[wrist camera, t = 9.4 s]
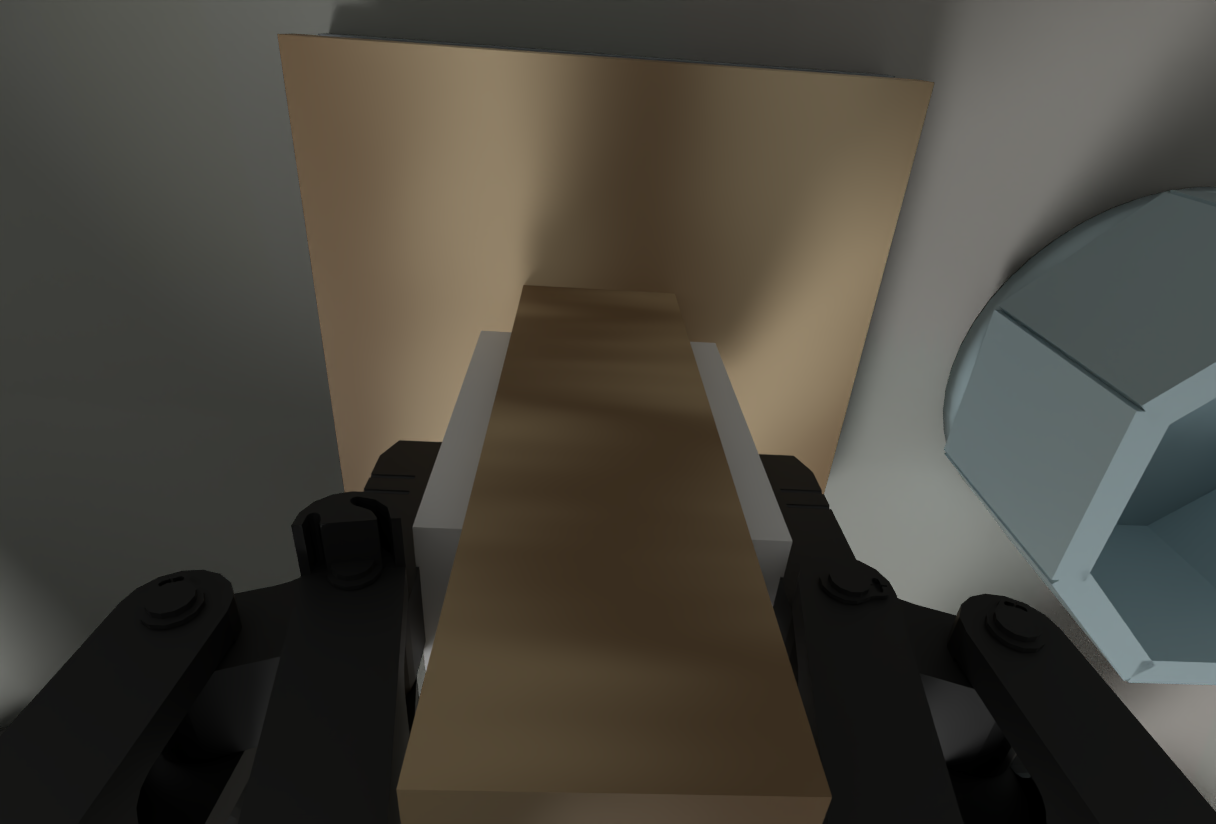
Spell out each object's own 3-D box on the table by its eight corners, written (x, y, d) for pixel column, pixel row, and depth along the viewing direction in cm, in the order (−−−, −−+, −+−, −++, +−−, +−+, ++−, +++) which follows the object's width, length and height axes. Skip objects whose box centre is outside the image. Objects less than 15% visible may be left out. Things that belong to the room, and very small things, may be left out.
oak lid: (361, 536, 20) (85, 1157, 9) (292, 33, 14) (-853, 80, 3) (796, 552, 21) (1028, 1148, 10) (918, 79, 15) (1944, 260, 4)
